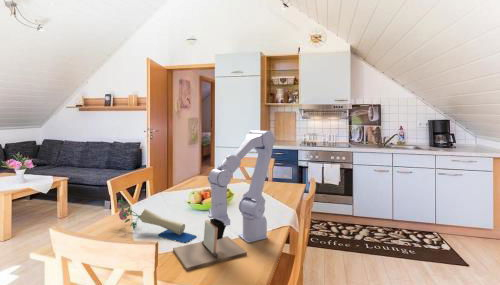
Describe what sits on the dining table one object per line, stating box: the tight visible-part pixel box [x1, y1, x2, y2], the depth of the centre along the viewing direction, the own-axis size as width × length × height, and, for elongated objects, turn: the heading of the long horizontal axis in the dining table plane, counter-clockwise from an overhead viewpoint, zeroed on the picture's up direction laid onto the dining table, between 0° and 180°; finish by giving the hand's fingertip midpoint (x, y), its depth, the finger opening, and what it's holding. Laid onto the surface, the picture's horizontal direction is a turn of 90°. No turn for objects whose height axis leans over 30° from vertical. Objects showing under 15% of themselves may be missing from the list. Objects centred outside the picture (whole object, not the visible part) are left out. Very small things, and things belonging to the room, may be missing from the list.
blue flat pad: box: [158, 229, 197, 244], centre depth 118 cm, size 7×1×15 cm
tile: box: [203, 219, 218, 253], centre depth 104 cm, size 9×9×1 cm
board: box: [172, 235, 248, 272], centre depth 104 cm, size 22×16×2 cm
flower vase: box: [116, 196, 186, 235], centre depth 125 cm, size 12×12×35 cm
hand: (219, 238), depth 105 cm, fingers closed, pressing on tile
